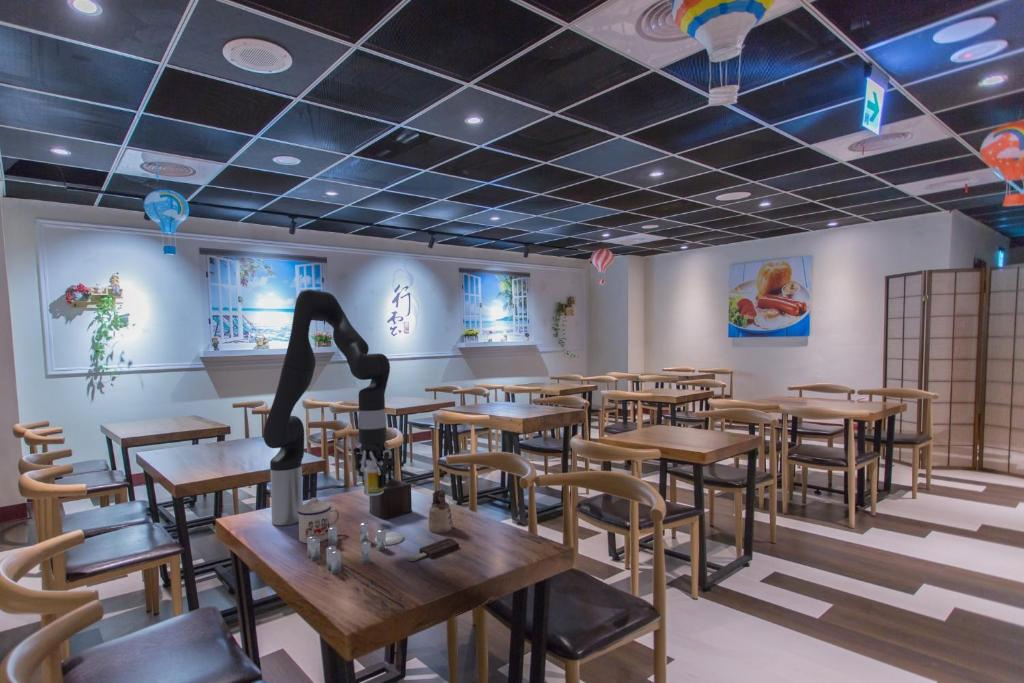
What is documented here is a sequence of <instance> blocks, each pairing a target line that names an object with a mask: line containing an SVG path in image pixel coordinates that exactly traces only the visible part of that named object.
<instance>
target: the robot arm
mask: <svg viewBox="0 0 1024 683" xmlns="http://www.w3.org/2000/svg"><path fill="white" fill-rule="evenodd" d="M312 321H316V322H317V321H318V322H326V323H327V324H328V325H330V326H331V327H332V329H333V332H332V339H333V342H334V344H335V346H336V347H337V348H338V350H339V351H340V352H341V353H342V354H343V356H344V357H345V360H346V362H347V364H348V368H349V370H350V373H351V375H352V376H353V377H355V379H357V380H361V381H366V380H367V381H368V380H370V383H369V385H368V386H366V387H364V388H362V389H360V390H359V392H358V398H357V399H358V416H357V417H358V418H357V422H358V423H357V424H358V425H357V426H358V428H357V429H358V443H359V444H360V446H357V447H354V448H353V458H354V465H355V464H356V468H357V469H360V470H361V472H362V476H361V481H362V485H363V486H364V468H365V467H366V466H367V465H366V459H368V460H372V461H373V464H374V467H375V468H376V469H377V473H378V488H384V487H385V486H386V478H387V474H388V472H391V473H392V471H393V462H394V454H395V452H394V451H393V450H387V449H386V446H385V444H386V442H387V440H388V437H387V434H388V433H387V414H386V409H385V408H386V403H385V402H386V401H385V393H386V389H387V385H388V381H389V377H390V372H391V365H390V360H389V359H388V357H387V356H386V355H385V354H383V353H369V350H370V349H369V344H368V343H367V341H366V340H365V339H364V338H363V337H362V335H360V333H359V332H357V330H356V329H355V327H353V325H352V324H351V322H350V321H349V318H348V317H347V315H346V313H345V312H344V310H343V308H342V306H341V304H340V303H339V300H338V299H337V298H336V297H335V296H334V294H332V293H330V292H327V291H324V290H316V289H309V288H305V289H302V290H301V291H300V292H299V293H298V295H297V298H296V301H295V305H294V311H293V316H292V324H291V331H290V336H289V340H288V345H287V349H286V352H285V356H284V360H283V363H282V368H281V372H280V375H279V380H278V383H277V384H278V385H277V387H276V390H275V391H276V392H275V395H274V399H273V402H272V405H271V407H270V411H269V413H268V415H267V418H266V421H265V424H264V427H263V432H262V434H263V435H262V436H263V441H264V443H265V445H266V446H267V447H269V448H270V449H279V448H280V449H279V451H278V452H277V453H276V455H274V456H273V457H272V458H271V460H270V461H269V463H270V464H269V470H270V471H269V472H270V473H269V475H270V498H271V499H270V501H271V502H270V505H271V524H272V525H274V526H289V525H294V524H297V523H299V513H298V509H299V507H301V506H302V505H304V502H303V500H304V499H303V498H304V497H303V473H302V472H303V465H302V461H303V458H304V455H305V427H304V423H303V421H302V420H301V419H300V418H299V417H298V416H295V415H292V412H293V410H294V408H295V406H296V404H297V403H298V402H299V400H300V399H301V398H302V397H303V395H304V394H305V392H306V391H307V389H308V388H309V386H310V385H311V383H312V380H313V376H314V372H315V368H316V364H317V362H316V356H315V353H314V350H313V348H312V345H311V342H310V337H309V336H310V335H309V334H310V327H311V323H312ZM359 461H361V464H360V462H359ZM380 461H381V463H378V462H380ZM380 466H381V467H382V470H381V468H380Z"/></svg>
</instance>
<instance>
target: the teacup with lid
mask: <svg viewBox="0 0 1024 683" xmlns="http://www.w3.org/2000/svg"><path fill="white" fill-rule="evenodd" d="M333 512H336V514H337V515H336V518H335V519H334V521H332V520H331V513H333ZM298 513H299V522H298V536H299V538H298V539H299V542H301V543H303V544H307V537H308V536H311V535H316V536H317V538H320V543H321V542H324V541H326V540H328V527H331V526H336V525H337V524H338V522H339V521H340V519H341V511H340V510H339V509H338V508H332V505H331V504H330V503H328V502H326V501H322V500H319V498H318V497H311V498H310V501H308V502H306V503H305V504H303V505H302V506H301V507H299V509H298ZM331 521H332V522H331Z"/></svg>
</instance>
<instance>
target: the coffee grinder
mask: <svg viewBox="0 0 1024 683" xmlns="http://www.w3.org/2000/svg"><path fill="white" fill-rule="evenodd" d="M359 462H360V464H361V460H359ZM353 466H354V470H355V471H357V472H358V477H362V472H361V470H360V469H357V468H356V464H355V463H354V465H353ZM387 474H388V476H387V477H386V486H385V487H384V492H383V493H382V494H380V495H376V496H368V497H369V510H368V512H369V513H370V514H371V515H373V516H375V517H376V518H378V519H380V520H383V521H385V520H390V519H394V518H398V517H401V516H405V515H407V514H411V513H412V512H413V510H412V508H413V505H412V504H413V503H412V485H411V484H410V483H408V482H405V481H403V480H400V479H397V478H394V477H392V471H391V472H388V473H387Z"/></svg>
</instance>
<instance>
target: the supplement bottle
mask: <svg viewBox="0 0 1024 683" xmlns="http://www.w3.org/2000/svg"><path fill="white" fill-rule="evenodd" d="M378 463H381V461H380V462H378ZM366 465H367V466H366V467H365V468H364V485H363V494H364V495H365V496H367V497H369V496H376V495H380V494H382V493H383V492H384V488H378V473H377V469H376V468H375V467H374V464H373V461H372V460H368V459H366ZM380 468H381V470H382V467H381V466H380Z"/></svg>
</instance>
